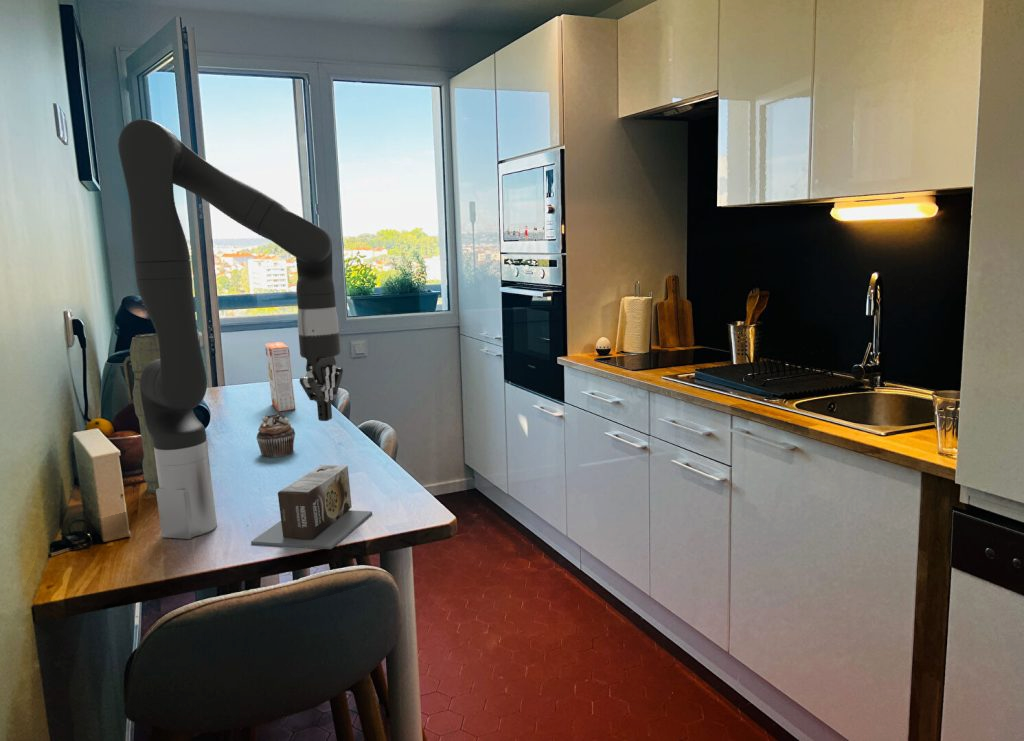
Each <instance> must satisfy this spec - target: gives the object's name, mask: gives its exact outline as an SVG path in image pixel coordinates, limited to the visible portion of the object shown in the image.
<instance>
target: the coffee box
mask: <svg viewBox="0 0 1024 741" xmlns="http://www.w3.org/2000/svg"><path fill="white" fill-rule="evenodd" d="M349 474H350V473H349V466H348V465H338V464H337V465H335V464H332V465H331V464H320V465H318V466H317V467H315V468H314V469H313V470H311V471H309V472H308V473H307V474H305V475H303V476H302V477H300V478H298V479H296V480H295V481H294V482H292V483H291V484H289V485H288V486H286V487H284V488H283V489H281V490H279V491H278V492H277V499H278V506H279V514H280V521H281V523H282V532H283V538H293V539H307V540H313V539H314V538H316V537H317V536H318V535H319V534H320V533H322V532H323V531H324V530H325V529H326V528H328V527H329V526H330V525H331V524H332V523H334V522H335V521H336V520H337V519H338V518H340V517H341V516H342V515H343V514H344V513H346V512H347V511H348V510H350V509H352V497H351V486H350V476H349Z"/></svg>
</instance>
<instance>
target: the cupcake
mask: <svg viewBox="0 0 1024 741" xmlns="http://www.w3.org/2000/svg"><path fill="white" fill-rule="evenodd" d="M261 419H262V423H260V426H259V427H258V432H257V434H256V440H257V444H258V447H259V451H260V454H261V456H262V457H266V458H279V457H284V456H288V455H290V454H292V453H294V442H295V436H296V432H295V428H294V427H292V426H291V423H290V421H289V418H287V417H286V415H284V414H283V413H281V412H278V413H275V414H269V415H268V414H266V415H265V416H263V417H262V418H261Z"/></svg>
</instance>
